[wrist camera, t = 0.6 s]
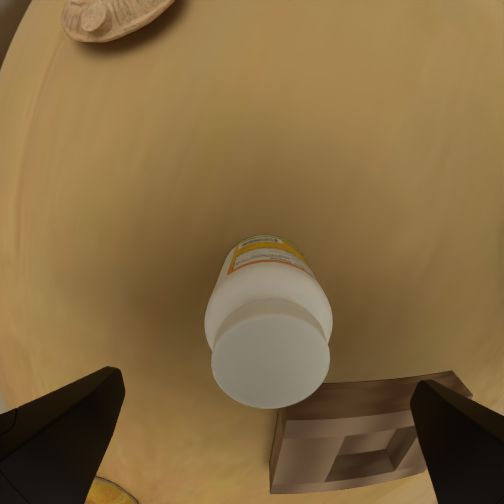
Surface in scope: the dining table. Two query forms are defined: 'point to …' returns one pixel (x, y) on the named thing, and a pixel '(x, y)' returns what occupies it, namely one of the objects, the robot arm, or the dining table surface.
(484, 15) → the dining table surface
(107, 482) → the bread roll
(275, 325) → the supplement bottle
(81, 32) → the pottery oil lamp
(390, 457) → the walnut holder
